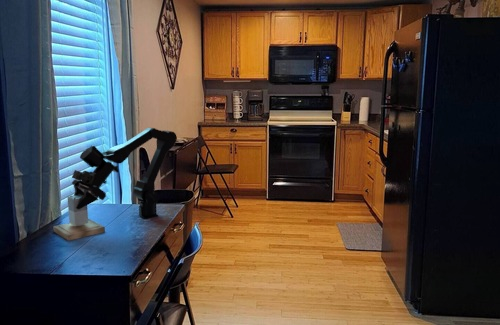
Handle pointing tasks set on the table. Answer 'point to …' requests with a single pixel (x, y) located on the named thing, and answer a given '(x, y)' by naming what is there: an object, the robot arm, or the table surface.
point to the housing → (77, 211)
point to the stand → (78, 230)
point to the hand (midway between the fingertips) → (74, 207)
